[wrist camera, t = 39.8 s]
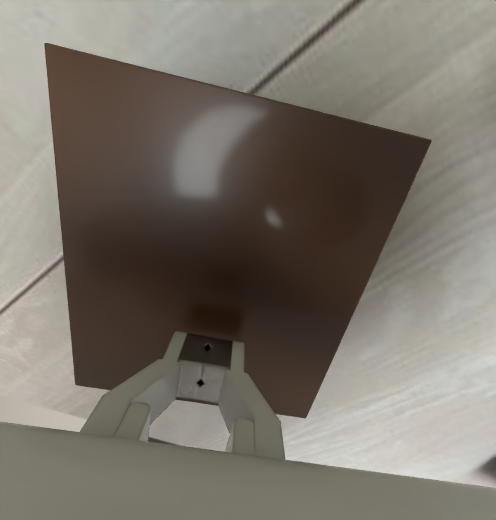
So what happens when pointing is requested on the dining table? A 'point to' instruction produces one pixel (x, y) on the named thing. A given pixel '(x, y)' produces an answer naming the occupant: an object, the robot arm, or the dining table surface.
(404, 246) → the dining table surface
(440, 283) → the dining table surface
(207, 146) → the chest lid
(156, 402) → the robot arm
